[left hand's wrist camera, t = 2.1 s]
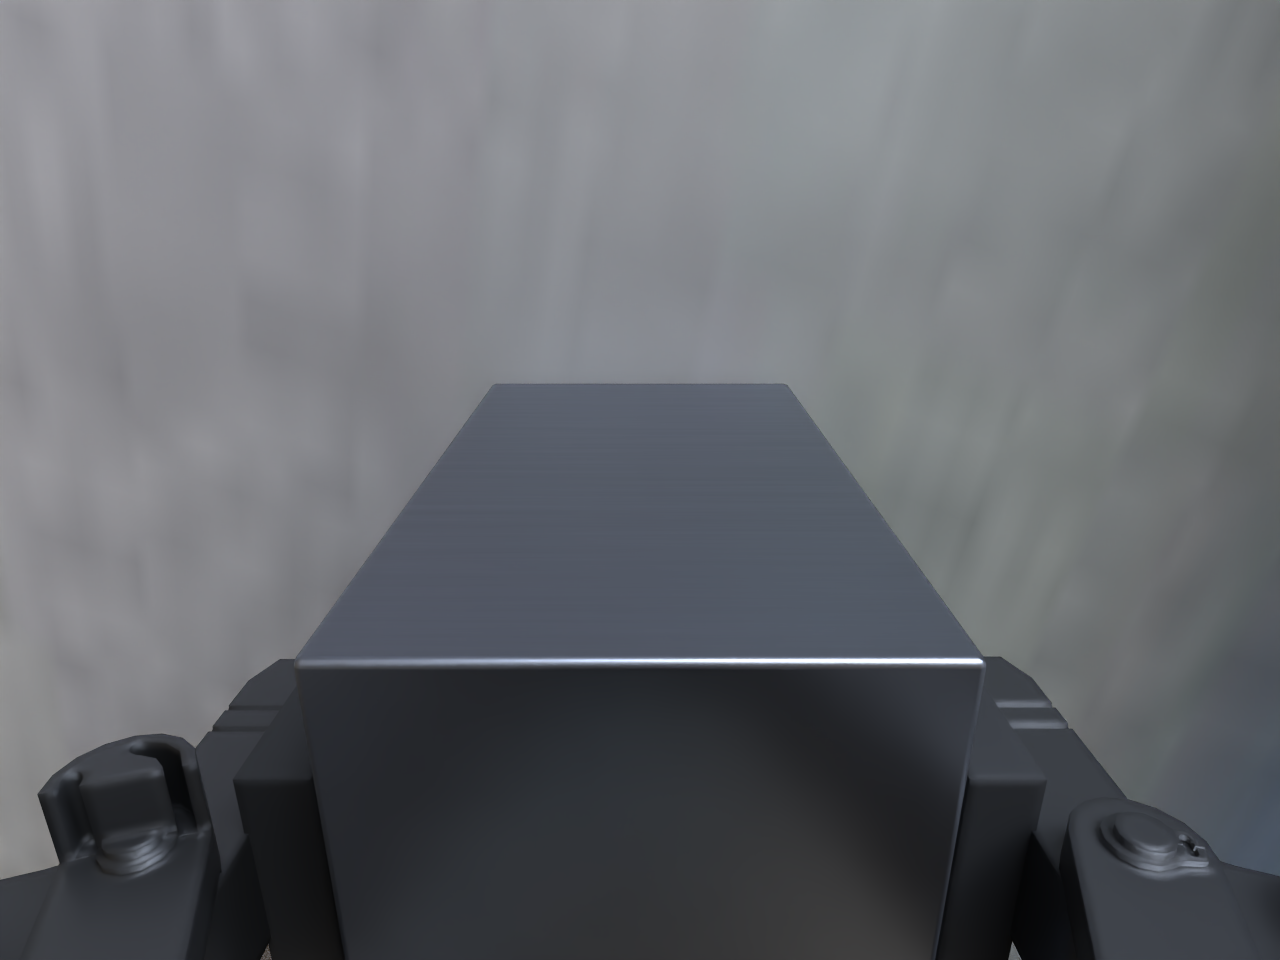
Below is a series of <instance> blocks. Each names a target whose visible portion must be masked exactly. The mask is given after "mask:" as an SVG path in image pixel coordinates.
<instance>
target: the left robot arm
mask: <svg viewBox="0 0 1280 960" xmlns="http://www.w3.org/2000/svg"><path fill="white" fill-rule="evenodd" d="M984 659H985V662H986V671H985V677H984V683H983V689H982V694H981V700H980V706H979V711H978V717H977V723H976V729H975V734H974V740H973V746H972V751H971V757H970V763H969V769H968V774H967V780H966V786H965V791H964V797H963V803H962V808H961V814H960V820H959V826H958V831H957V837H956V843H955V848H954V854H953V860H952V866H951V871H950V877H949V883H948V888H947V894H946V900H945V906H944V911H943V917H942V923H941V928H940V934H939V940H938V945H937V951H936V957H935V960H1008V958H1009V953H1010V949H1011V944H1012V941H1013V943H1014V945H1015V947H1016V949H1017V951H1018V953H1019V955H1020V957H1021V959H1022V960H1280V876H1276V875H1272V874H1267V873H1263V872H1259V871H1255V870H1250V869H1246V868H1242V867H1237V866H1234V865H1230V864H1227V863H1224V862H1220V861H1219V859H1218V858H1217V856H1216V855H1215V853H1214V852H1213V850H1212V849H1211V848H1210V846H1209V845H1208V843H1207V842H1206V841H1205V840H1204V839H1203V838H1201V837H1200V836H1199V835H1198V834H1197V833H1195V832H1194V831H1193V830H1192V829H1191V828H1189V827H1188V826H1187V825H1186V824H1185V823H1183V822H1181V821H1179V820H1177V819H1176V818H1174V817H1172V816H1170V815H1168V814H1166V813H1164V812H1162V811H1161V810H1159V809H1157V808H1154V807H1151V806H1148V805H1144V804H1141V803H1138V802H1135V801H1132V800H1129V799H1127V798H1126V796H1125V795H1124V794H1123V793H1122V791H1121V790H1120V789H1119V788H1118V786H1117V785H1116V784H1115V782H1114V781H1113V780H1112V779H1111V777H1110V776H1109V775H1108V774H1107V772H1106V771H1105V770H1104V769H1103V767H1102V766H1101V765H1100V763H1099V762H1098V761H1097V760H1096V758H1095V757H1094V756H1093V755H1092V753H1091V752H1090V751H1089V750H1088V748H1087V747H1086V746H1085V745H1084V743H1083V742H1082V741H1081V739H1080V738H1079V737H1078V736H1077V734H1076V733H1075V732H1074V731H1073V729H1069V728H1068V723H1067V722H1066V720H1065V719H1064V718H1063V717H1062V715H1061V714H1060V713H1059V712H1058V710H1057V709H1056V708H1052V705H1051V704H1052V703H1051V701H1050V700H1049V699H1048V698H1047V696H1046V695H1045V694H1044V693H1043V691H1042V690H1041V689H1040V688H1039V686H1038V685H1037V684H1036V682H1035V681H1034V680H1033V679H1032V678H1031V677H1030V676H1028V675H1027V674H1025V673H1024V672H1022V671H1021V670H1019V669H1018V668H1016V667H1015V666H1014V665H1012V664H1011V663H1009V662H1008V661H1006V660H1005V659H1003V658H1002V657H984ZM294 663H295V659H280V660H278V661H277V662H275V663H274V664H272V665H271V666H269V667H268V668H266V669H265V670H263V671H262V672H260V673H259V674H258V675H256V676H255V677H253V678H252V679H250V680H249V681H248V682H247V683H246V685H245V686H244V687H243V688H242V690H241V691H240V692H239V693H238V695H237V696H236V697H235V699H234V700H233V701H232V702H231V704H230V705H229V710H225V711H224V713H223V714H222V715H221V716H220V718H219V719H218V720H217V721H216V723H215V724H214V725H213V730H212V732H208V733H207V734H206V735H205V737H204V738H203V739H202V741H201V742H200V743H199V744H198V746H197V747H196V748H194V747H193V746H192V745H191V744H189V743H188V742H187V741H186V740H185V739H183V738H181V737H176V736H171V735H166V734H152V735H139V736H133V737H129V738H126V739H122V740H118V741H115V742H111V743H108V744H105V745H103V746H100V747H98V748H96V749H94V750H92V751H90V752H88V753H86V754H83V755H81V756H79V757H77V758H76V759H74V760H73V761H71V762H70V763H69V764H67V765H66V766H65V767H63V768H62V769H60V770H59V771H58V772H56V773H55V774H54V775H52V777H51V778H50V779H49V780H48V782H47V783H46V784H45V785H44V787H43V788H42V789H41V790H40V792H39V793H38V794H37V795H38V798H39V801H40V804H41V807H42V810H43V813H44V816H45V819H46V822H47V825H48V828H49V832H50V835H51V838H52V841H53V844H54V847H55V850H56V853H57V856H58V859H59V862H60V864H59V865H58V866H55V867H51V868H48V869H45V870H41V871H36V872H32V873H28V874H23V875H19V876H15V877H11V878H6V879H2V880H0V960H260V959H261V957H262V955H263V953H264V951H265V949H266V947H267V945H268V944H269V949H270V953H271V958H272V960H345V956H344V951H343V945H342V939H341V934H340V928H339V922H338V916H337V911H336V905H335V899H334V894H333V888H332V882H331V877H330V871H329V865H328V859H327V854H326V848H325V842H324V837H323V831H322V825H321V819H320V814H319V808H318V802H317V797H316V791H315V785H314V779H313V774H312V768H311V762H310V757H309V751H308V745H307V740H306V734H305V728H304V722H303V717H302V711H301V705H300V700H299V694H298V688H297V682H296V677H295V671H294Z"/></svg>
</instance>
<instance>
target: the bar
mask: <svg viewBox="0 0 1280 960" xmlns="http://www.w3.org/2000/svg"><path fill="white" fill-rule="evenodd" d="M294 671H295V677H296V682H297V688H298V694H299V700H300V705H301V711H302V717H303V722H304V728H305V734H306V740H307V745H308V751H309V757H310V762H311V768H312V774H313V779H314V785H315V791H316V797H317V802H318V808H319V814H320V819H321V825H322V831H323V837H324V842H325V848H326V854H327V859H328V865H329V871H330V877H331V882H332V888H333V894H334V899H335V905H336V911H337V916H338V922H339V928H340V934H341V939H342V945H343V951H344V956H345V960H935V957H936V951H937V945H938V940H939V934H940V928H941V923H942V917H943V911H944V906H945V900H946V894H947V888H948V883H949V877H950V871H951V866H952V860H953V854H954V848H955V843H956V837H957V831H958V826H959V820H960V814H961V808H962V803H963V797H964V791H965V786H966V780H967V774H968V769H969V763H970V757H971V751H972V746H973V740H974V734H975V729H976V723H977V717H978V711H979V706H980V700H981V694H982V689H983V683H984V677H985V671H986V662H985V659H984V657H983V655H982V654H981V653H980V651H979V650H978V648H977V647H976V646H975V644H974V643H973V642H972V640H971V639H970V637H969V636H968V635H967V633H966V632H965V630H964V629H963V628H962V626H961V625H960V624H959V622H958V621H957V619H956V618H955V617H954V615H953V614H952V612H951V611H950V610H949V608H948V607H947V606H946V604H945V603H944V601H943V600H942V599H941V597H940V596H939V594H938V593H937V592H936V590H935V589H934V588H933V586H932V585H931V583H930V582H929V581H928V579H927V578H926V576H925V575H924V574H923V572H922V571H921V570H920V568H919V567H918V565H917V564H916V563H915V561H914V560H913V559H912V557H911V556H910V554H909V553H908V552H907V550H906V549H905V547H904V546H903V545H902V543H901V542H900V541H899V539H898V538H897V536H896V535H895V534H894V532H893V531H892V529H891V528H890V527H889V525H888V524H887V523H886V521H885V520H884V518H883V517H882V516H881V514H880V513H879V511H878V510H877V509H876V507H875V506H874V505H873V503H872V502H871V500H870V499H869V498H868V496H867V495H866V493H865V492H864V491H863V489H862V488H861V487H860V485H859V484H858V482H857V481H856V480H855V478H854V477H853V476H852V474H851V473H850V471H849V470H848V469H847V467H846V466H845V464H844V463H843V462H842V460H841V459H840V458H839V456H838V455H837V453H836V452H835V451H834V449H833V448H832V446H831V445H830V444H829V442H828V441H827V440H826V438H825V437H824V435H823V434H822V433H821V431H820V430H819V428H818V427H817V426H816V424H815V423H814V422H813V420H812V419H811V417H810V416H809V415H808V413H807V412H806V410H805V409H804V408H803V406H802V405H801V404H800V402H799V401H798V399H797V398H796V397H795V395H794V394H793V393H792V391H791V390H790V388H789V387H788V386H787V385H785V384H495V385H493V386H492V387H491V388H490V390H489V391H488V393H487V394H486V395H485V397H484V398H483V399H482V401H481V402H480V404H479V405H478V406H477V408H476V409H475V411H474V412H473V413H472V415H471V416H470V417H469V419H468V420H467V422H466V423H465V424H464V426H463V427H462V429H461V430H460V431H459V433H458V434H457V435H456V437H455V438H454V440H453V441H452V442H451V444H450V445H449V447H448V448H447V449H446V451H445V452H444V453H443V455H442V456H441V458H440V459H439V460H438V462H437V463H436V465H435V466H434V467H433V469H432V470H431V471H430V473H429V474H428V476H427V477H426V478H425V480H424V481H423V482H422V484H421V485H420V487H419V488H418V489H417V491H416V492H415V494H414V495H413V496H412V498H411V499H410V500H409V502H408V503H407V505H406V506H405V507H404V509H403V510H402V512H401V513H400V514H399V516H398V517H397V518H396V520H395V521H394V523H393V524H392V525H391V527H390V528H389V530H388V531H387V532H386V534H385V535H384V536H383V538H382V539H381V541H380V542H379V543H378V545H377V546H376V548H375V549H374V550H373V552H372V553H371V554H370V556H369V557H368V559H367V560H366V561H365V563H364V564H363V566H362V567H361V568H360V570H359V571H358V572H357V574H356V575H355V577H354V578H353V579H352V581H351V582H350V584H349V585H348V586H347V588H346V589H345V590H344V592H343V593H342V595H341V596H340V597H339V599H338V600H337V602H336V603H335V604H334V606H333V607H332V608H331V610H330V611H329V613H328V614H327V615H326V617H325V618H324V619H323V621H322V622H321V624H320V625H319V626H318V628H317V629H316V631H315V632H314V633H313V635H312V636H311V637H310V639H309V640H308V642H307V643H306V644H305V646H304V647H303V649H302V650H301V651H300V653H299V654H298V655H297V657H296V659H295V663H294Z"/></svg>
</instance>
